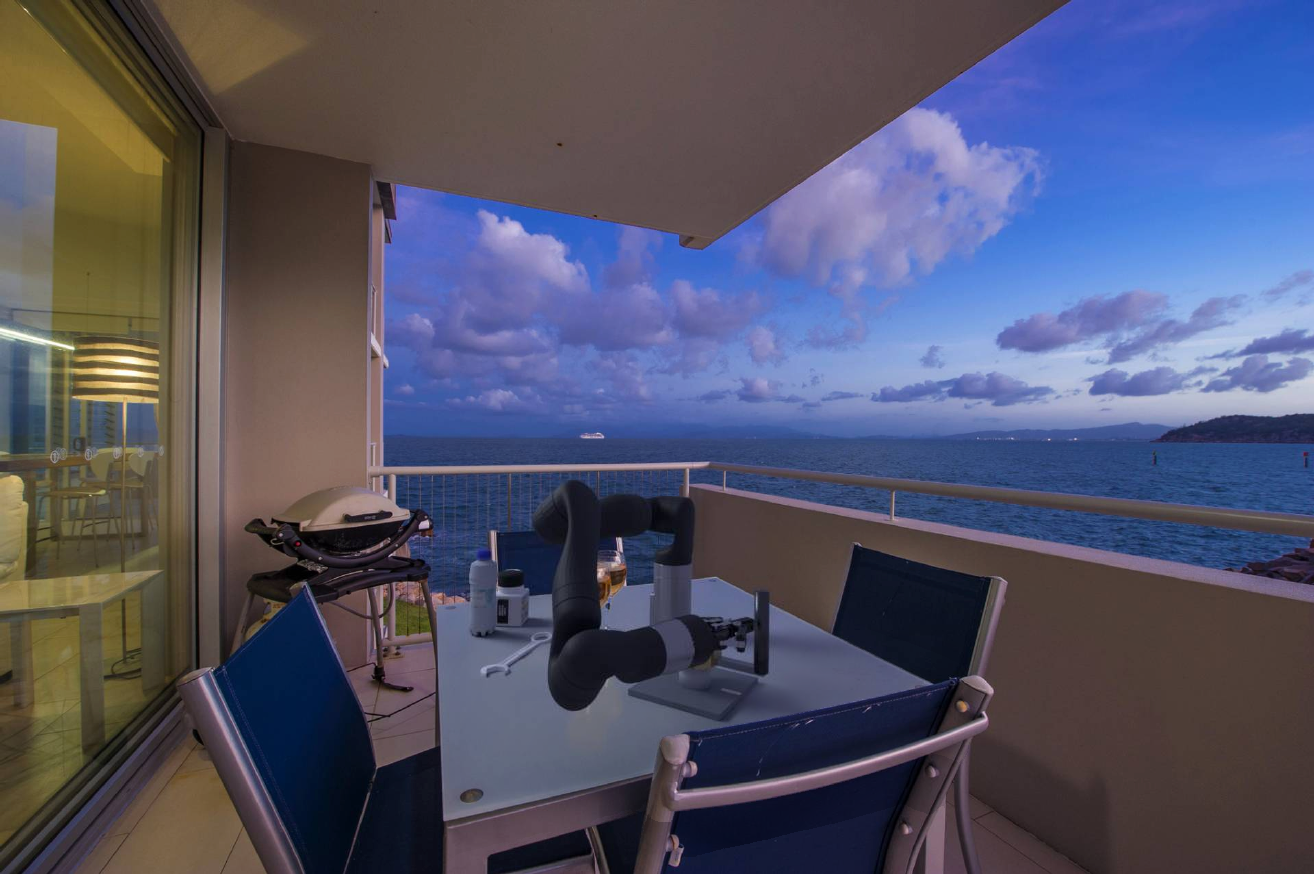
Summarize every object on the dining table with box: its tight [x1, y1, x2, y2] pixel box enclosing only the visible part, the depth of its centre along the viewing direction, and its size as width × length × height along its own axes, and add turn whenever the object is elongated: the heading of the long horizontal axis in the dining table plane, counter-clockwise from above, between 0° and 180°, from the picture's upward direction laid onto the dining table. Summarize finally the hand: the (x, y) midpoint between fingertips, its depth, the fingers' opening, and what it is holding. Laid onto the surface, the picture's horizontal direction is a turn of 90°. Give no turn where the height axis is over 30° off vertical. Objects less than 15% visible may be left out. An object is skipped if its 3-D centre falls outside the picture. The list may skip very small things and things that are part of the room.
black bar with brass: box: [689, 588, 771, 678], centre depth 101 cm, size 19×9×15 cm, turn 57°
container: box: [496, 568, 530, 627], centre depth 142 cm, size 8×8×13 cm
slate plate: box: [627, 667, 759, 722], centre depth 103 cm, size 18×18×9 cm
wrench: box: [480, 631, 553, 678], centre depth 119 cm, size 25×5×2 cm, turn 165°
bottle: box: [468, 548, 499, 637], centre depth 133 cm, size 7×7×20 cm
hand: (751, 623), depth 94 cm, fingers closed
